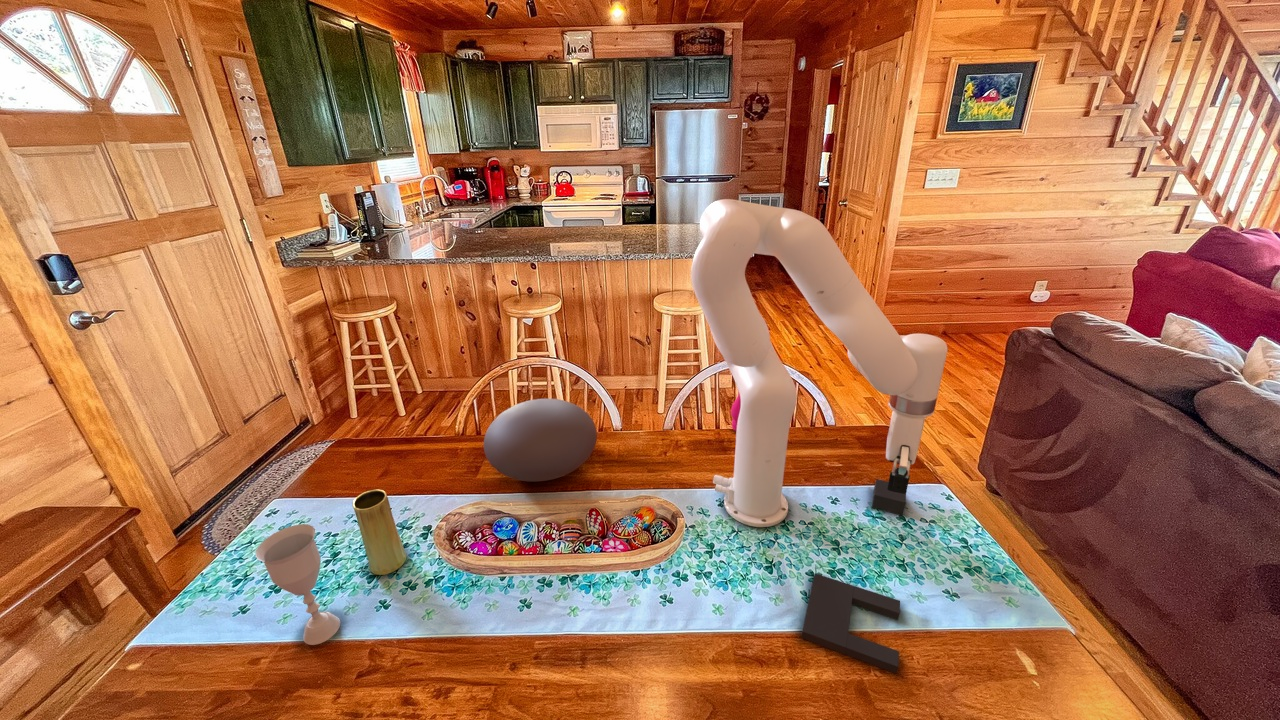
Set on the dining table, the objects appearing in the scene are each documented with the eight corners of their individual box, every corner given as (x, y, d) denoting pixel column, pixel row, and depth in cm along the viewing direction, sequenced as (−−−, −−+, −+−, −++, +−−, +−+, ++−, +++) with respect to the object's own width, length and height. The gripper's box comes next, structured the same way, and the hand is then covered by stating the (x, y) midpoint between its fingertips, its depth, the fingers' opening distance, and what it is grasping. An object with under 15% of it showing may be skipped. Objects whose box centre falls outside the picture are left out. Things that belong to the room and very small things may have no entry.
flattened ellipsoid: (512, 433, 130) (504, 381, 123) (608, 438, 126) (605, 385, 120) (469, 496, 107) (457, 436, 101) (584, 505, 104) (579, 444, 98)
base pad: (800, 638, 76) (802, 631, 76) (813, 579, 86) (814, 572, 85) (896, 674, 71) (898, 667, 70) (898, 607, 81) (900, 600, 80)
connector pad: (871, 507, 102) (874, 494, 100) (873, 491, 106) (876, 478, 105) (902, 515, 99) (905, 502, 98) (903, 498, 104) (906, 485, 103)
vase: (414, 555, 93) (397, 493, 87) (386, 580, 88) (366, 515, 82) (390, 545, 95) (372, 484, 89) (362, 569, 90) (340, 505, 84)
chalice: (309, 659, 75) (269, 569, 67) (285, 637, 78) (245, 549, 70) (357, 621, 80) (325, 534, 73) (333, 603, 84) (300, 518, 76)
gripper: (891, 377, 102) (878, 449, 109) (887, 419, 88) (873, 498, 95) (934, 383, 98) (918, 456, 106) (937, 428, 84) (918, 509, 92)
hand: (897, 476), depth 100 cm, fingers open, 9 cm apart
